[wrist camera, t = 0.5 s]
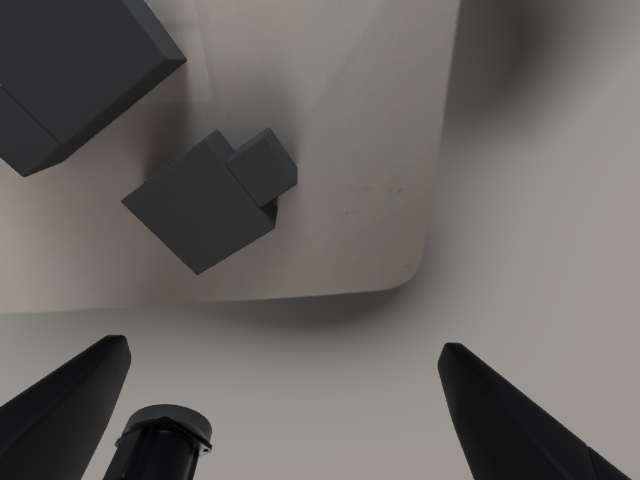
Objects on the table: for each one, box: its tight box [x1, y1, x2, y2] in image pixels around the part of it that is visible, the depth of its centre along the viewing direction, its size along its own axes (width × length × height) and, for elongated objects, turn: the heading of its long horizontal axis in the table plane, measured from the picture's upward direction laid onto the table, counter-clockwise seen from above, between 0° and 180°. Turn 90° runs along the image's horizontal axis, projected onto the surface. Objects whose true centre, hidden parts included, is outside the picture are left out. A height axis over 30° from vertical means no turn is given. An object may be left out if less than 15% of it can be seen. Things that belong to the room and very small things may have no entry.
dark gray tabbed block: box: [121, 128, 297, 275], centre depth 19 cm, size 6×9×3 cm
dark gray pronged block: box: [0, 0, 187, 177], centre depth 14 cm, size 10×10×3 cm
